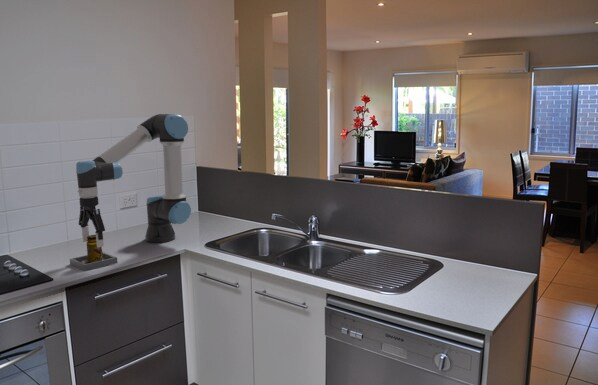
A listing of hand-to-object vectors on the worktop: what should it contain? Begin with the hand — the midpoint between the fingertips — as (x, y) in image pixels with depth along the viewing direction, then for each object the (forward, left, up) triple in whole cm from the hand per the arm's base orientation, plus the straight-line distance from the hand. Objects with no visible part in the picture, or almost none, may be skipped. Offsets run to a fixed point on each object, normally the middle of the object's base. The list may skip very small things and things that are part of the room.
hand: (93, 244), depth 224 cm
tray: (0, 0, -9) cm, 9 cm away
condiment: (0, 0, -9) cm, 9 cm away
